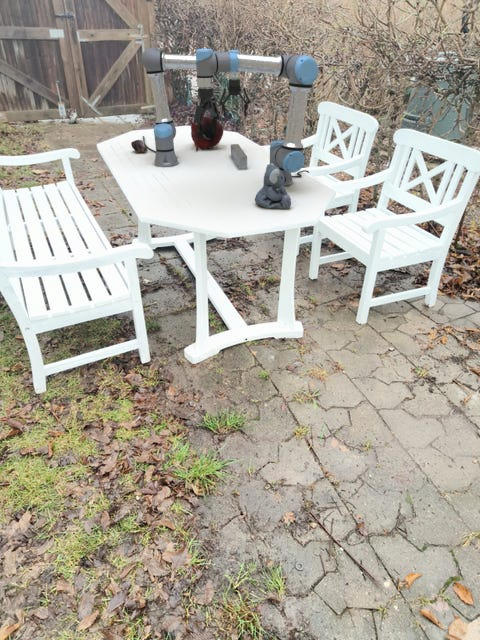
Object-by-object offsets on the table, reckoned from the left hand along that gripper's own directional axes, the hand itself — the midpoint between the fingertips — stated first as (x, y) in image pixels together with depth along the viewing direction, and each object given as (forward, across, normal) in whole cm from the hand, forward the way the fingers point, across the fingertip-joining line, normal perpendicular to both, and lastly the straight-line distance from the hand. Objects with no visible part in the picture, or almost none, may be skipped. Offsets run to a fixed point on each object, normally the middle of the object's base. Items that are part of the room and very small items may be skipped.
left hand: (234, 115), depth 291 cm
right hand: (-6, -27, -79) cm, 84 cm away
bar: (+26, 0, -13) cm, 29 cm away
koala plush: (+26, +3, -93) cm, 97 cm away
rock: (+26, -64, +28) cm, 75 cm away
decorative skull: (+26, -15, +32) cm, 44 cm away
